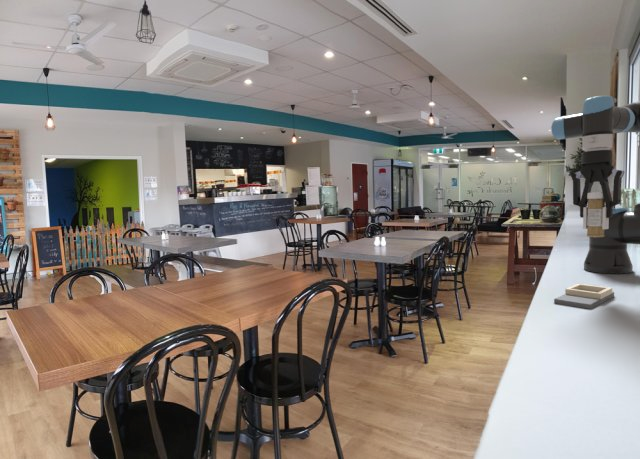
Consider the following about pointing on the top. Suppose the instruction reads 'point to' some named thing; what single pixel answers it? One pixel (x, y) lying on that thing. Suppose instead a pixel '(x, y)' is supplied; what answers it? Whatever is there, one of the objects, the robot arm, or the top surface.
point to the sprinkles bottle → (595, 214)
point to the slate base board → (584, 296)
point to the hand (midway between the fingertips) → (595, 228)
